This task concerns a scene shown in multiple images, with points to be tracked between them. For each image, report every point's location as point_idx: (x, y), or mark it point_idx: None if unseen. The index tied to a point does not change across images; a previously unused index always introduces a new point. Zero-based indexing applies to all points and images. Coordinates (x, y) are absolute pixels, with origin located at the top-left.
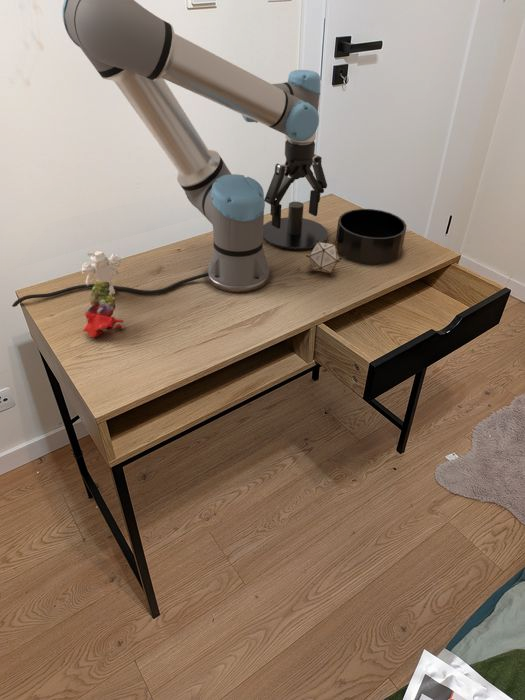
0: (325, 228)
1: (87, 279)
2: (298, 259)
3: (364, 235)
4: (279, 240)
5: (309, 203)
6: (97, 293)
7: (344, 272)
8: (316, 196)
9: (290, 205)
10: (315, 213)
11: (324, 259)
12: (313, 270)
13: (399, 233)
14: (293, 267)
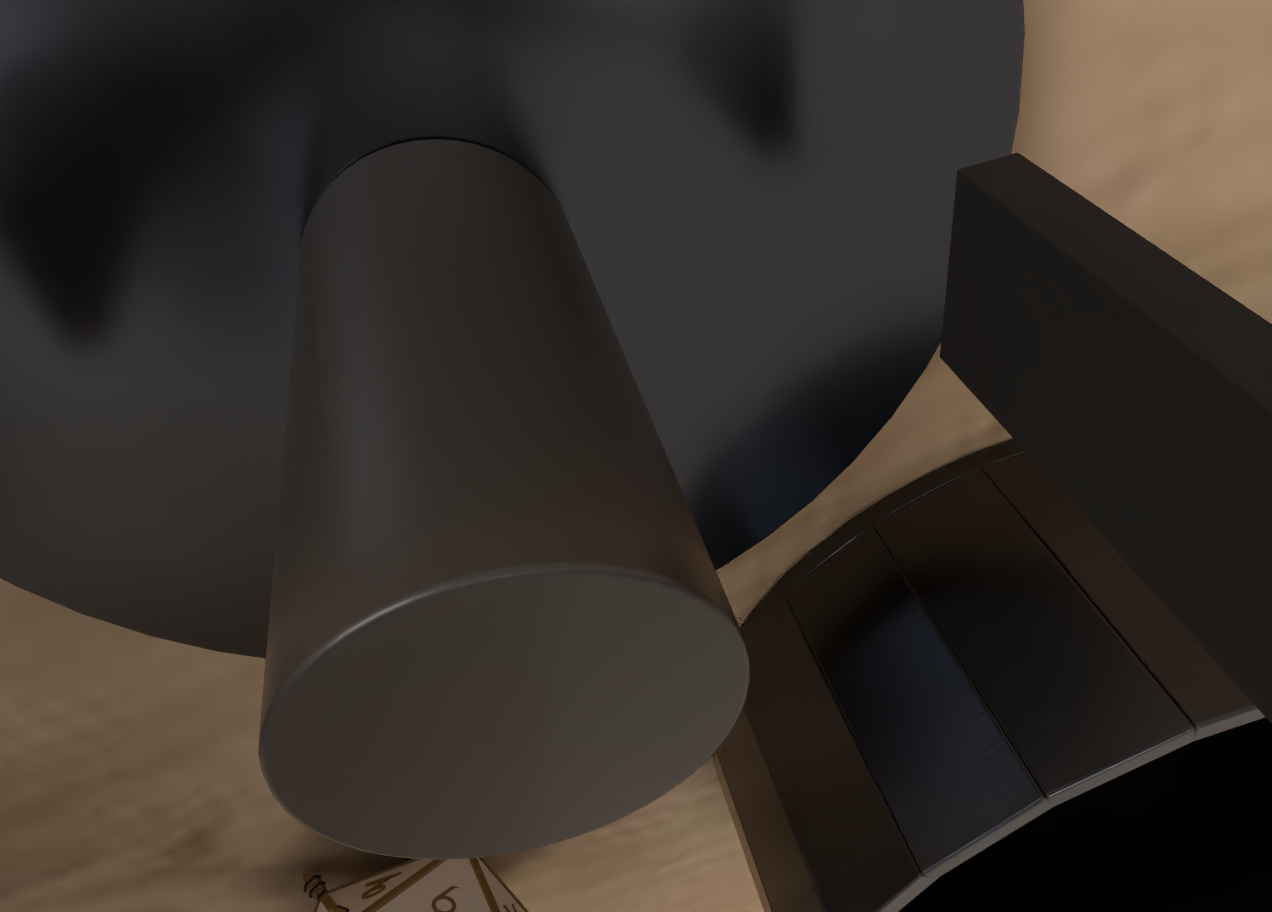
0: None
1: None
2: (257, 728)
3: None
4: (55, 473)
5: (1115, 287)
6: None
7: (571, 862)
8: (1266, 705)
9: (296, 779)
10: (974, 391)
11: None
12: (320, 897)
13: (1259, 755)
14: (152, 821)
